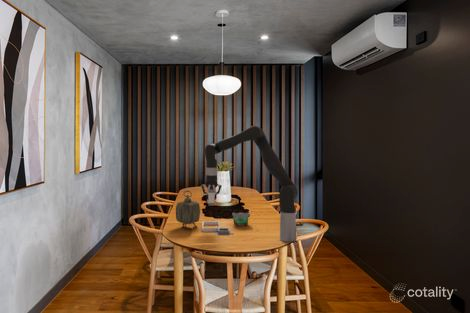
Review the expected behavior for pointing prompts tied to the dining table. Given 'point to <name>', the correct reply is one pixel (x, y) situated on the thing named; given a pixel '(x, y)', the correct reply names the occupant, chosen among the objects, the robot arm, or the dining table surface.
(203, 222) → the parts tray
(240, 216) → the food container
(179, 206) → the tabletop clock
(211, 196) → the fuse
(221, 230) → the fuse block
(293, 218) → the robot arm
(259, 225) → the dining table surface
